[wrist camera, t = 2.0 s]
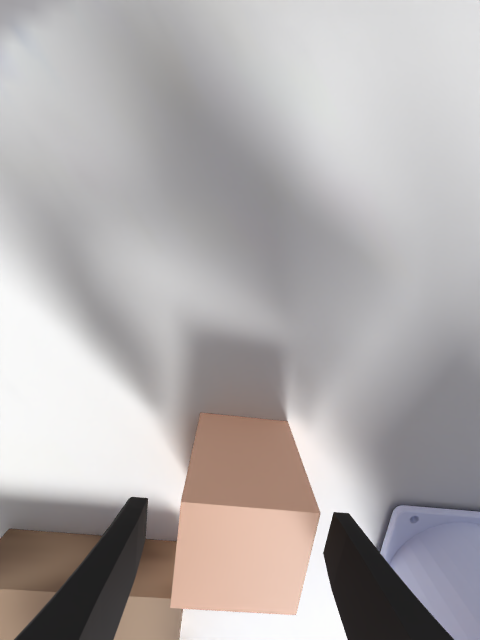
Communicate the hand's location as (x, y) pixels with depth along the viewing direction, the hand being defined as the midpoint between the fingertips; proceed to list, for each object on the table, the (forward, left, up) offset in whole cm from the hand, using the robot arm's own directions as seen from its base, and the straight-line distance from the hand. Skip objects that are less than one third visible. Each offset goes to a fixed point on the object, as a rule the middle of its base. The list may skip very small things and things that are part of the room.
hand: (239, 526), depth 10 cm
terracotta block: (0, 0, -4) cm, 4 cm away
